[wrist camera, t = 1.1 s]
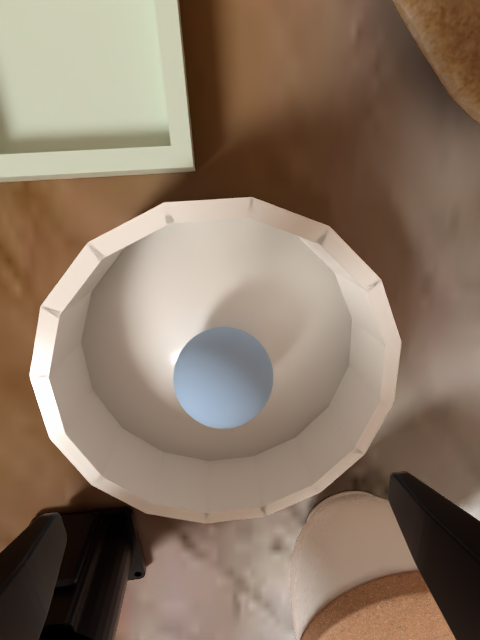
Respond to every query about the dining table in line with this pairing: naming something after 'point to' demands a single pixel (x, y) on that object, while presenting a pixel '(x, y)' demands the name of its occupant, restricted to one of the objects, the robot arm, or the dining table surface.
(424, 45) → the tan boot vase
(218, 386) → the ball
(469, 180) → the dining table surface
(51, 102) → the tray
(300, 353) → the bowl
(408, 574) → the lidded jar
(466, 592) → the robot arm
